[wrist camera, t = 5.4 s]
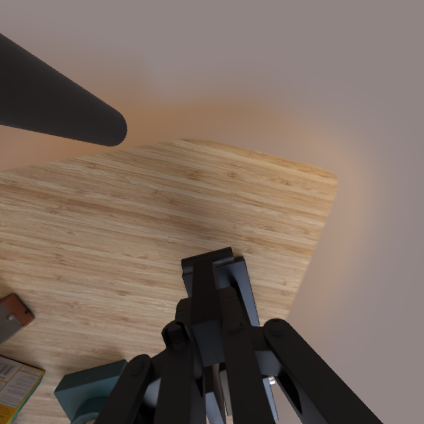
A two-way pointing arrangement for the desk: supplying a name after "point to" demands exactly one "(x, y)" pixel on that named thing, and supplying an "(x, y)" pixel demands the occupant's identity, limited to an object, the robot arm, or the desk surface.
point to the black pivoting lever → (219, 259)
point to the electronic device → (12, 317)
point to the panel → (87, 391)
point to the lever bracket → (239, 280)
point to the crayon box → (16, 387)
